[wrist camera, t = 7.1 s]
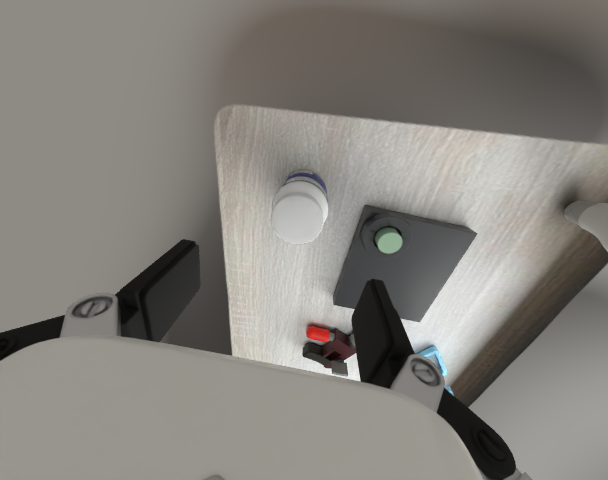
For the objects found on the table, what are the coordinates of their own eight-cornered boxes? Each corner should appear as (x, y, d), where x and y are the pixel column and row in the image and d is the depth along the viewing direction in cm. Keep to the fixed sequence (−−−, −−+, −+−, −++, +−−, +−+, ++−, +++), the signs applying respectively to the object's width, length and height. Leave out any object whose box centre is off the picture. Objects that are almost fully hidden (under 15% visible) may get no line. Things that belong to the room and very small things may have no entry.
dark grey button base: (365, 202, 28) (371, 211, 25) (469, 225, 28) (488, 237, 25) (332, 296, 35) (334, 312, 32) (415, 313, 36) (424, 330, 33)
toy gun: (374, 331, 38) (380, 356, 34) (328, 361, 43) (329, 386, 39) (333, 303, 36) (335, 327, 32) (290, 338, 41) (286, 362, 37)
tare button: (379, 224, 26) (382, 230, 24) (402, 229, 26) (406, 235, 25) (371, 244, 27) (374, 251, 26) (393, 249, 27) (396, 255, 26)
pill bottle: (306, 220, 30) (300, 260, 21) (273, 193, 28) (251, 223, 19) (336, 189, 27) (343, 219, 19) (301, 158, 26) (291, 174, 17)
